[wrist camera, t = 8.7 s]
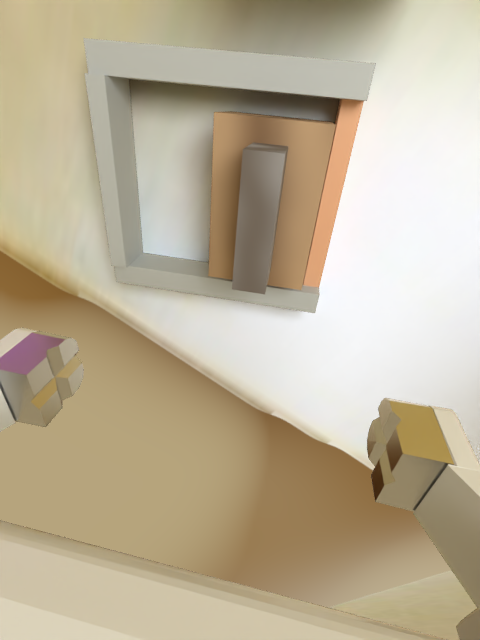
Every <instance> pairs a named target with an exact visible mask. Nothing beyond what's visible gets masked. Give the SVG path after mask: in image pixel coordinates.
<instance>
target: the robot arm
mask: <svg viewBox="0 0 480 640" xmlns="http://www.w3.org/2000/svg"><path fill="white" fill-rule="evenodd" d="M78 351H79V348H78V345H77V342H76V340H74V339H72V338H69V337H65V336H60V335H56V334H51V333H46V332H42V331H35V330H31V329H26V328H19V329H15V330H13V331H12V332H11V333H9V334H8V335H6V336H5V337H4V338H2V339H1V340H0V432H1V431H3V430H4V429H6V428H8V427H9V426H11V425H13V424H15V421H17V422H22V423H27V424H32V425H38V426H42V427H46V426H47V425H48V424H49V423H50V422H51V420H52V419H53V418H54V417H55V416H56V415H57V414H58V412H59V411H60V410H61V409H62V400H64V399H66V398H68V397H71V396H73V395H74V393H75V392H76V391H77V390H78V388H79V387H80V384H81V382H82V378H83V371H84V369H83V365H82V362H81V361H80V360H79V359H78V358H77V357H76V354H77V352H78ZM378 410H379V415H380V417H379V418H377V419H375V420H373V421H372V424H371V426H370V429H369V433H368V439H367V451H368V458H369V460H370V461H371V462H372V463H373V464H374V466H375V468H374V470H373V472H372V474H371V478H372V484H373V490H374V497H375V502H378V503H382V504H386V505H390V506H394V507H398V508H402V509H405V510H409V511H413V512H414V513H413V514H414V515H415V517H416V518H417V520H418V521H419V523H420V524H421V526H422V527H423V529H424V530H425V532H426V533H427V534H428V536H429V538H430V539H431V540H432V542H433V543H434V545H435V546H436V548H437V549H438V551H439V552H440V554H441V555H442V557H443V558H444V559H445V561H446V562H447V564H448V565H449V567H450V568H451V570H452V571H453V573H454V574H455V576H456V577H457V579H458V580H459V582H460V583H461V584H462V586H463V587H464V589H465V590H466V592H467V593H468V595H469V596H470V598H471V599H472V601H473V602H474V604H475V605H476V607H477V609H475V610H474V611H473V612H471V613H470V614H469V615H468V616H466V617H465V618H464V619H462V620H461V621H460V622H459V624H458V625H457V626H456V628H457V632H458V635H459V639H460V640H480V464H479V462H478V460H477V458H476V456H475V454H474V451H473V449H472V447H471V445H470V443H469V441H468V439H467V437H466V434H465V432H464V430H463V428H462V426H461V424H460V422H459V419H458V417H457V415H456V413H455V412H454V411H453V410H451V409H446V408H441V407H435V406H427V405H422V404H417V403H411V402H406V401H400V400H395V399H389V398H384V399H383V400H382V401H381V404H380V406H379V408H378ZM0 640H447V639H444V638H440V637H436V636H432V635H429V634H425V633H421V632H417V631H414V630H410V629H406V628H402V627H399V626H395V625H391V624H387V623H384V622H380V621H376V620H372V619H369V618H365V617H361V616H357V615H354V614H350V613H346V612H342V611H339V610H335V609H331V608H327V607H324V606H320V605H316V604H312V603H309V602H305V601H301V600H297V599H294V598H290V597H286V596H283V595H278V594H275V593H271V592H268V591H263V590H260V589H256V588H252V587H249V586H245V585H241V584H238V583H233V582H230V581H226V580H222V579H218V578H215V577H211V576H208V575H204V574H200V573H196V572H193V571H189V570H185V569H181V568H177V567H173V566H170V565H166V564H162V563H159V562H155V561H151V560H148V559H144V558H140V557H136V556H133V555H129V554H125V553H121V552H117V551H114V550H110V549H106V548H102V547H99V546H95V545H91V544H87V543H84V542H80V541H76V540H72V539H69V538H65V537H61V536H57V535H54V534H50V533H46V532H43V531H39V530H35V529H31V528H28V527H24V526H20V525H16V524H12V523H9V522H5V521H1V520H0Z"/></svg>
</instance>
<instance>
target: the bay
mask: <svg viewBox="0 0 480 640" xmlns="http://www.w3.org/2000/svg"><path fill="white" fill-rule="evenodd" d="M84 45H85V52H86V60H87V67H88V73H85V80H86V87H87V94H88V101H89V109H90V116H91V123H92V130H93V137H94V145H95V152H96V159H97V166H98V173H99V180H100V188H101V195H102V202H103V209H104V216H105V224H106V231H107V238H108V245H109V252H110V259H111V266H114V269H115V276H116V282H120V283H126V284H133V285H139V286H145V287H152V288H158V289H165V290H171V291H177V292H184V293H190V294H196V295H203V296H209V297H215V298H222V299H228V300H234V301H241V302H247V303H254V304H260V305H266V306H273V307H279V308H285V309H292V310H298V311H304V312H311V313H315V311H316V307H317V302H318V298H319V285H320V281H321V277H322V272H323V268H324V264H325V260H326V256H327V252H328V247H329V243H330V239H331V235H332V231H333V227H334V222H335V218H336V214H337V210H338V206H339V202H340V197H341V193H342V189H343V185H344V181H345V177H346V172H347V168H348V164H349V160H350V156H351V152H352V148H353V143H354V139H355V135H356V131H357V127H358V123H359V118H360V114H361V110H362V106H363V102H364V101H367V98H368V94H369V90H370V86H371V82H372V78H373V74H374V69H375V65H376V63H366V62H354V61H343V60H331V59H319V58H308V57H296V56H284V55H273V54H261V53H249V52H238V51H226V50H214V49H203V48H191V47H179V46H168V45H156V44H144V43H133V42H121V41H109V40H98V39H86V38H84ZM129 79H133V80H144V81H154V82H164V83H175V84H185V85H195V86H206V87H216V88H226V89H237V90H247V91H257V92H268V93H278V94H289V95H299V96H309V97H320V98H330V99H340V102H339V107H338V112H337V117H336V121H335V125H336V127H335V132H334V137H333V142H332V146H331V151H330V156H329V161H328V166H327V170H326V175H325V180H324V185H323V190H322V194H321V199H320V204H319V209H318V213H317V218H316V223H315V228H314V233H313V237H312V242H311V247H310V252H309V256H308V261H307V266H306V271H305V276H304V280H303V285H302V290H297V289H290V288H284V287H277V286H270V285H267V288H266V292H265V294H259V293H252V292H246V291H239V290H233V289H232V281H233V280H231V279H224V278H217V277H211V276H208V274H209V262H202V261H195V260H188V259H182V258H175V257H168V256H161V255H155V254H148V253H143V245H142V233H141V221H140V208H139V196H138V184H137V171H136V159H135V146H134V134H133V122H132V109H131V97H130V84H129Z"/></svg>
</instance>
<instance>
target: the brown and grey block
mask: <svg viewBox="0 0 480 640" xmlns="http://www.w3.org/2000/svg"><path fill="white" fill-rule="evenodd" d="M335 127H336V125H335V124H334V123H332V122H329V121H319V120H309V119H300V118H290V117H280V116H271V115H261V114H251V113H241V112H232V111H230V112H214V129H213V158H212V187H211V216H210V245H209V274H208V276H211V277H217V278H224V279H231V280H233V281H232V289H233V290H239V291H246V292H252V293H259V294H265V292H266V288H267V285H270V286H277V287H284V288H290V289H297V290H302V285H303V280H304V276H305V271H306V266H307V261H308V256H309V252H310V247H311V242H312V237H313V233H314V228H315V223H316V218H317V213H318V209H319V204H320V199H321V194H322V190H323V185H324V180H325V175H326V170H327V166H328V161H329V156H330V151H331V146H332V142H333V137H334V132H335Z"/></svg>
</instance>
